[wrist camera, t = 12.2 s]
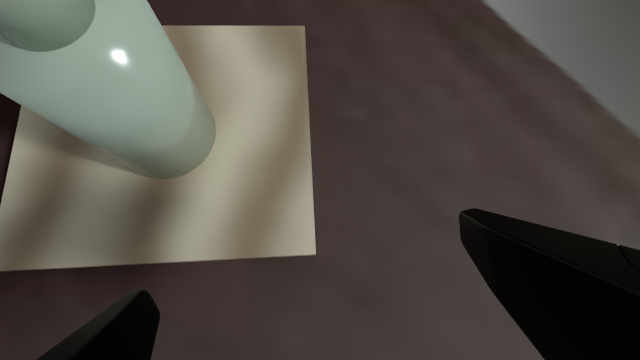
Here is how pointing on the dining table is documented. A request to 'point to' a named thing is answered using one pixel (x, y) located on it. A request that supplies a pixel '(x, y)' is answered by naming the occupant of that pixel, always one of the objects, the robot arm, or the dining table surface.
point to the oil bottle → (106, 81)
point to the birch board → (184, 191)
